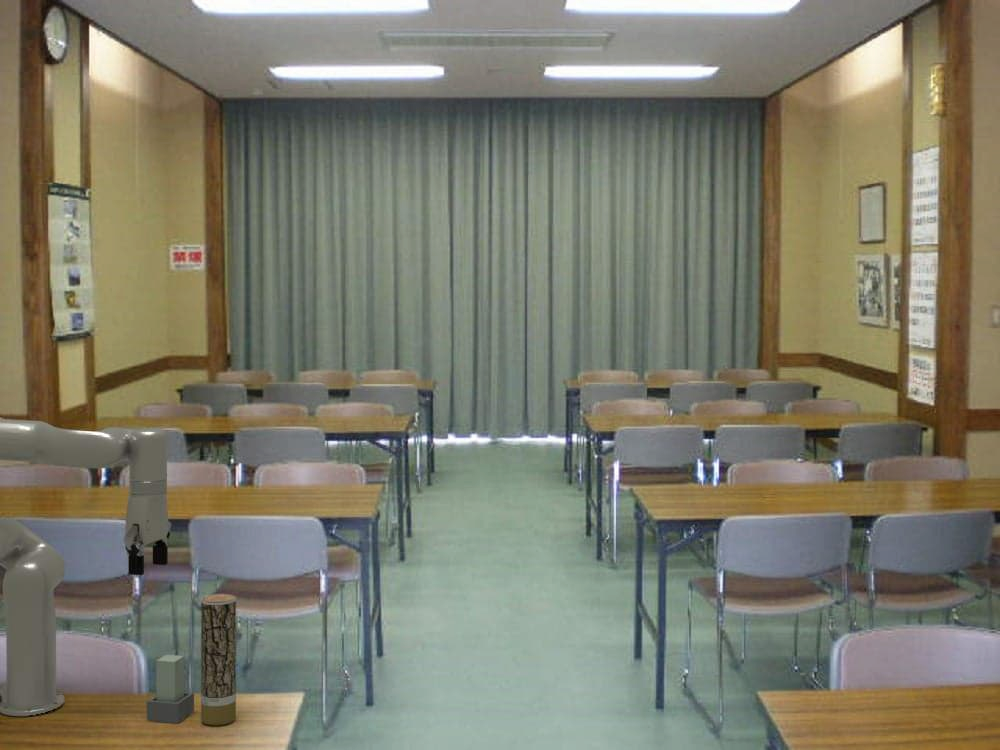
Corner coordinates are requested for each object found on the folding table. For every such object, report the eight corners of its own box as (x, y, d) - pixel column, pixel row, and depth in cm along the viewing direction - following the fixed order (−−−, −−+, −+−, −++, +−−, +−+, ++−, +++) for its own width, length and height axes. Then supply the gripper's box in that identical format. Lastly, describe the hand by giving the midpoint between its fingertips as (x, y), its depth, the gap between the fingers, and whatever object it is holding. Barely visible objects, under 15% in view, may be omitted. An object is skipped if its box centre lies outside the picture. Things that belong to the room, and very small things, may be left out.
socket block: (146, 720, 222) (146, 701, 222) (163, 709, 229) (163, 690, 229) (177, 723, 221) (177, 704, 221) (193, 712, 228) (193, 692, 228)
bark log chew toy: (226, 728, 219) (227, 603, 218) (195, 725, 220) (195, 601, 219) (241, 716, 226) (241, 595, 224) (210, 713, 227) (210, 593, 226)
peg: (156, 719, 224) (156, 660, 223) (166, 712, 227) (166, 654, 227) (174, 720, 223) (174, 661, 222) (184, 713, 227) (184, 656, 226)
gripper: (152, 481, 240) (152, 559, 241) (109, 493, 223) (109, 577, 224) (184, 483, 239) (184, 561, 240) (143, 495, 222) (143, 579, 223)
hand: (148, 569), depth 232 cm, fingers open, 9 cm apart
